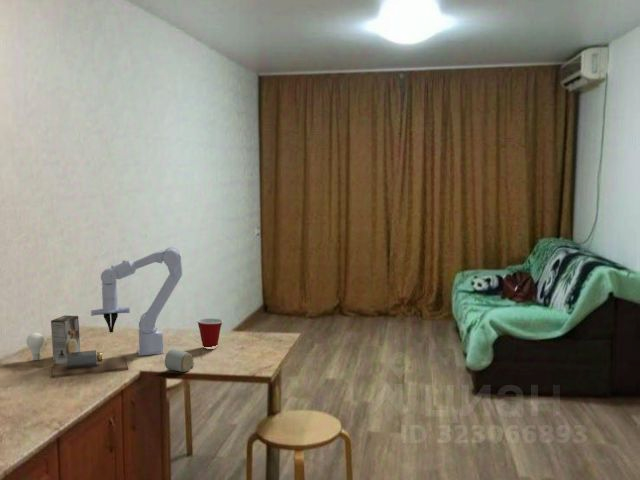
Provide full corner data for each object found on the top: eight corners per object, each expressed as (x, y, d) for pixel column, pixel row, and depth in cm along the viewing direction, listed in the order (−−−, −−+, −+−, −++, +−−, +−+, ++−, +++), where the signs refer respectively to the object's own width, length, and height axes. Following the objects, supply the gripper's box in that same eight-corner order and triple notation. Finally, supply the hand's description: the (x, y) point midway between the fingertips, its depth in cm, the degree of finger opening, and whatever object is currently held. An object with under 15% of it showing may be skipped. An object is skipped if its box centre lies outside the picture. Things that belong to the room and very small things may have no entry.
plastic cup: (229, 346, 262) (228, 318, 261) (211, 353, 253) (210, 324, 251) (209, 342, 268) (209, 315, 266) (191, 348, 259) (191, 320, 257)
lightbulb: (49, 359, 244) (47, 331, 243) (35, 363, 239) (34, 335, 237) (37, 357, 247) (36, 330, 246) (23, 361, 241) (22, 333, 240)
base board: (126, 358, 245) (126, 356, 245) (128, 369, 232) (128, 366, 232) (54, 366, 236) (54, 363, 236) (52, 377, 223) (52, 374, 223)
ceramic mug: (182, 374, 226) (182, 354, 225) (164, 371, 229) (164, 351, 229) (199, 367, 236) (199, 347, 235) (182, 364, 239) (181, 344, 238)
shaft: (102, 360, 237) (101, 350, 236) (102, 362, 233) (101, 353, 233) (56, 364, 231) (55, 355, 231) (55, 367, 228) (55, 357, 227)
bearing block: (96, 362, 237) (96, 350, 237) (96, 366, 232) (96, 354, 231) (68, 365, 234) (67, 352, 233) (67, 369, 228) (67, 357, 228)
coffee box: (66, 353, 252) (64, 314, 250) (80, 354, 250) (79, 315, 249) (52, 360, 243) (50, 320, 241) (67, 361, 242) (65, 321, 240)
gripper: (90, 301, 242) (92, 335, 243) (129, 299, 247) (130, 332, 248) (90, 298, 248) (92, 331, 250) (128, 295, 253) (129, 328, 255)
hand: (111, 331), depth 250 cm, fingers closed
